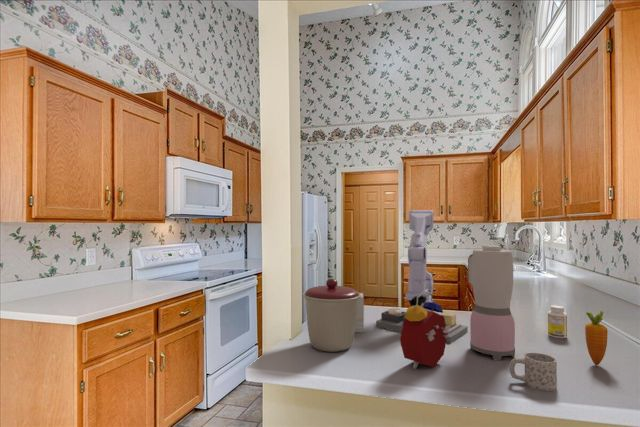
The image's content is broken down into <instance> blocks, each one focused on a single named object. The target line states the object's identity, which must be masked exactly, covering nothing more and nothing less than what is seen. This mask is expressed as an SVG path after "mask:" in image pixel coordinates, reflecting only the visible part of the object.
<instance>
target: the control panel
mask: <svg viewBox="0 0 640 427" xmlns="http://www.w3.org/2000/svg"><path fill="white" fill-rule="evenodd" d="M405 314H406V311H402V314H401V315H393V314H388V310H386V311H383V312H381V316H380V319H377V320H376V321H375V327H378V328H381V329H387V330H390V329H391V330H390V331H395V332H399V333H402V328H403V324H404V319H405ZM448 331H449V332H447V333H448V335H447V336H448V338H447V340H446V344H447V343H449V344H452V343H453V342H454V341H456V340H458V339H460V338H461V337H463V336H464V335H465V334H467V333H469V332H468V331H469V330H468V326H467V325H464V324H463V325H462V324H461V323H460V324H459V323H456V325H455V326H454V327H452V328H451V329H448Z"/></svg>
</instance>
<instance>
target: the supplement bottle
mask: <svg viewBox="0 0 640 427" xmlns="http://www.w3.org/2000/svg"><path fill="white" fill-rule="evenodd" d="M547 334H548V336H549V337H552V338H555V339H566V338H567V337H568V315H567V313H566V312H565V307H564V306H562V305H550V309H549V310H548V312H547Z"/></svg>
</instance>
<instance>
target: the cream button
mask: <svg viewBox="0 0 640 427" xmlns="http://www.w3.org/2000/svg"><path fill="white" fill-rule="evenodd" d="M387 311H388V314H393V315H401V314H402V312H403V310H402V309H401V308H388V310H387Z"/></svg>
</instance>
